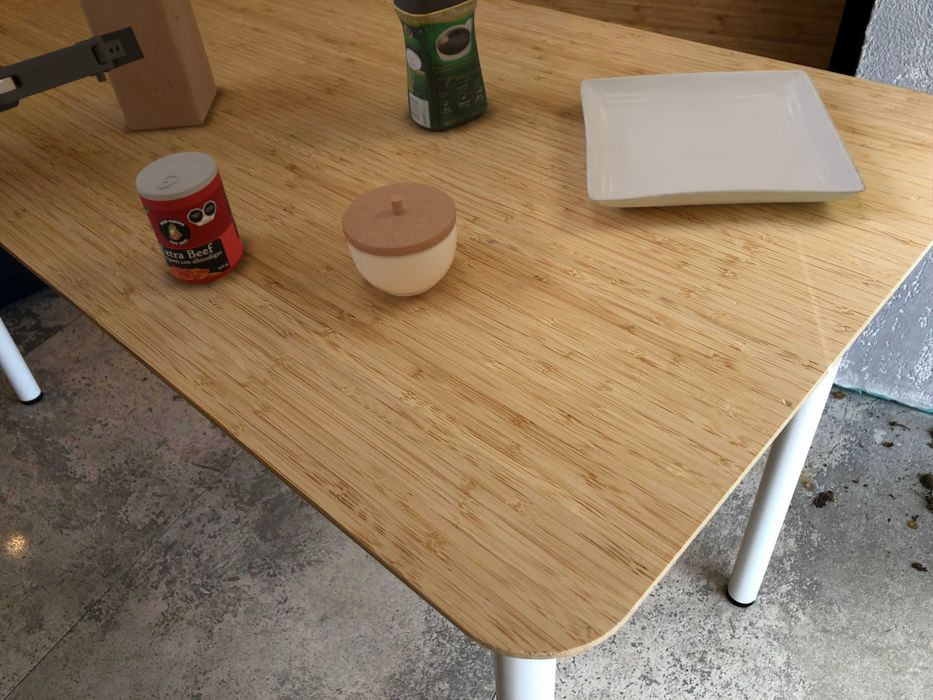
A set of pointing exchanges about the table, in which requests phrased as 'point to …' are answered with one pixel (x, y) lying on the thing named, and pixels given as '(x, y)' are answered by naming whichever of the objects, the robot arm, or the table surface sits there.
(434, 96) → the coffee jar
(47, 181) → the table surface
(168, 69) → the wooden block
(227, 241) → the canned food
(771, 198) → the square plate
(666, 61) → the table surface
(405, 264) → the trinket box
